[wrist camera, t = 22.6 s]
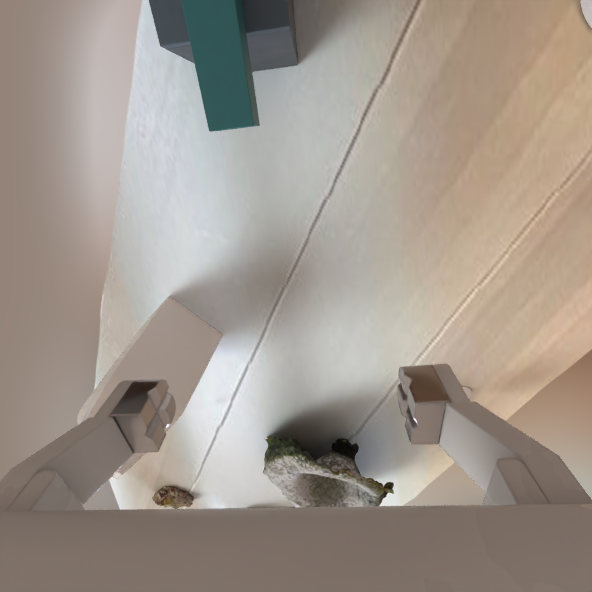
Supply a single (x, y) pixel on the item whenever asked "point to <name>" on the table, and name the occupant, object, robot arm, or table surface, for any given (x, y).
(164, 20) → the slate crate
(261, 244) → the table surface
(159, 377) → the milk
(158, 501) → the mineral rock
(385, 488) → the mossy grey boulder
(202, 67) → the teal block
